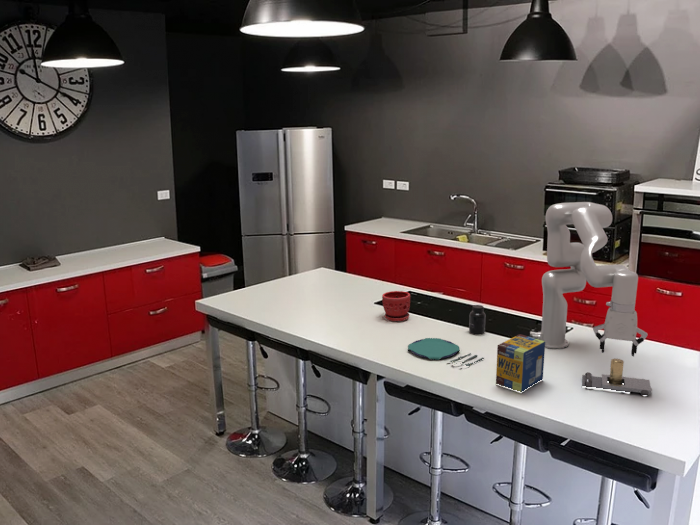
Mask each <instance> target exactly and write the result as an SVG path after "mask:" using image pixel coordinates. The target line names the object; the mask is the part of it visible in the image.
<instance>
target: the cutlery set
mask: <svg viewBox="0 0 700 525" xmlns="http://www.w3.org/2000/svg"><path fill="white" fill-rule="evenodd" d="M407 351H408V352H409V351H410V352H411V353H412V354H414V355H416V356H418V357H422V358H426V359H429V360H431V359H433V360H434V359H435V360H436V361H439V360H440V359H446V358H447V359H448V358H450V357H453V356H455V355H456V354H457V353H458V352H459V351H460V352H461V349H460V346H459V345H458V344H456V343H454V342H452V341H449V340H446V339H442V338H437V337H431V338H430V337H425V338H422V339H417V340H415V341H413V342H411V343H409V344H408V346H407ZM470 354H471V355H472V353H471V352H470V353H468V354H465V355H463V356H457V358H455V359H452V360H450V361H451V362H452V361H454V362H452V363H455V362H456V361H455V360H457V361H458V359H460V358H462V359H463V358H465V357H467V355H468V356H470V357H468V358H467V359H465V360H463V361H464V363H465V364H464V363H463V361H461V362H462V363H463V364H464V365H466V366H469V367H470V366H471V365H470V364H473V362H474V363H475V362H478V361H480V360H482V359H484V360H485V357H481V358H479V359H477V360H476V361H475V360H474V361H473V362H470V363H466V362H468V361H470V360H473V359H475V358H477V357H478V355H477V354H474V355H473V356H471V355H470ZM433 360H432V361H433ZM435 360H434V361H435ZM460 360H461V359H460ZM467 360H468V361H467ZM465 361H466V362H465ZM482 361H483V360H482ZM480 362H481V361H480ZM478 363H479V362H478ZM475 364H476V363H475ZM473 365H474V364H473Z"/></svg>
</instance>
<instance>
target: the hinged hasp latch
mask: <svg viewBox="0 0 700 525" xmlns="http://www.w3.org/2000/svg"><path fill="white" fill-rule="evenodd" d="M581 377H582V378H581V387H582V386H586V387H596V388H603V389H611V390H616V391H625V392H630V393H631V392H632V393H640V395H641V394H642V395H648V396H649V395H652V387H651V386H652V385H651V382H650V379H644V378H634V377H627V376H622V383H624V385H618V384H610V383H607V381H609V379H610V374H604V373H602V374H601V376H593V374H592V373H591V372H589V371H587V372H585V373H584V374H582V376H581ZM642 395H641V396H642Z"/></svg>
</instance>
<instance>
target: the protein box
mask: <svg viewBox="0 0 700 525" xmlns="http://www.w3.org/2000/svg"><path fill="white" fill-rule="evenodd" d="M545 349H546V347H545V341H542V340H539V339H538V338H533V336H527V335H524V334H522V333H521V334H520V333H519V334H517V335H515V336H514V337H511V338H509V339H507V340H505V341H503V342H501V343H499V344H497V350H496V351H497V352H496V369H495V370H496V372H495V373H496V375H495V385H496V384H499V385H501V386H505V387H508V388H511V389H513V390H517V391H520V392H522V391H524V390H525V389H527V388H528V387H530V386H532V385H533V384H535V383H537V382H538V381H540V380H542V379H544V366H545Z"/></svg>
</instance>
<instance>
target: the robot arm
mask: <svg viewBox="0 0 700 525" xmlns="http://www.w3.org/2000/svg"><path fill="white" fill-rule="evenodd" d="M612 222H613V214H612V212H611V210H610V209H609V208H608V206H606V205H604V204H601V203H600V204H599V203H595V202H591V201H576V202H561V203H555V204H552V205H550V206H548V209H546V213H545V224H546V227H547V228H546V229H547V244H546V245H547V246H546V247H547V248H546V261H547V264H548V265H549V266H550V267H553V268H562V269H554V270H548V271H546V272H545V273H543V275H542V277H541V286H542V294H543V295H542V302H543V303H542V314H541V316H542V318H541V330H540V331H538V332H536V331H530V332H529V337H532V338H535V339H539V340H542V341H545V349H550V348H562V349H565V348H564V347H566V348H567V346H568V347H569V345H570V344H569V341H568V339H566V330H567V316H568V302H567V300H566V298H565V297H564V295H563V294H567V293H576V292H581V291H583V290H584V289H585V288H586V285H587V283H588V285H590V286H591V287H594V288H608V287H609V288H610V287H612V290H611V297H610V298H611V299H610V301H606V303H605V305H606V306H607V307H608V309H607V312H606V316H605V321H604V323H602V324H599V325H595V326H593V327H592V329H593V333H594V334H595V337H596V338H597V339H598V340H599V342H600V343H599V350H601V353H602V354H603V353H605V347H606V345H605V344H606V342H605V341H606V340H607V339H610V340H615V341H616V340H617V341H618V340H619V341H627V342H632V343H631V351H630V352H631V353H630V354H631V357H635V354H637V350H638V346H639V345H640V344H642V343H643V342H644V341H645V340H646V338H647V337H648V332H646V331H645V330H643V329H641V328H639V327H638V313H637V311H636V310H635V309H636V308H635V307H636V300H637V291H638V283H639V275H638V273H637V272H635V271H632V270H630V269H628V268H627V267H626V266H625V265H623V264H603V265H602V264H601V265H597V264H596V263H595V261H594V258H593V253H596V252H597V251H599V250H601V249H602V248H604V247H605V245H607V243H608V241H609V240H608V236H607V234H606V232H605V230H604V229H605V228H608V227H609V226H611V224H612ZM567 225H573V227H574V228H575V230H576V232H577V234H578V237H579V239H580V240H581V242H571V232H570V230H569V228H568V226H567ZM564 267H566V268H567V267H570V268H567V269H566V268H565V269H563V268H564ZM600 330H603V333H602V334H601V333H600V332H599V331H600ZM637 334H639V335H640V336H639V337H638V338H637Z"/></svg>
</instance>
